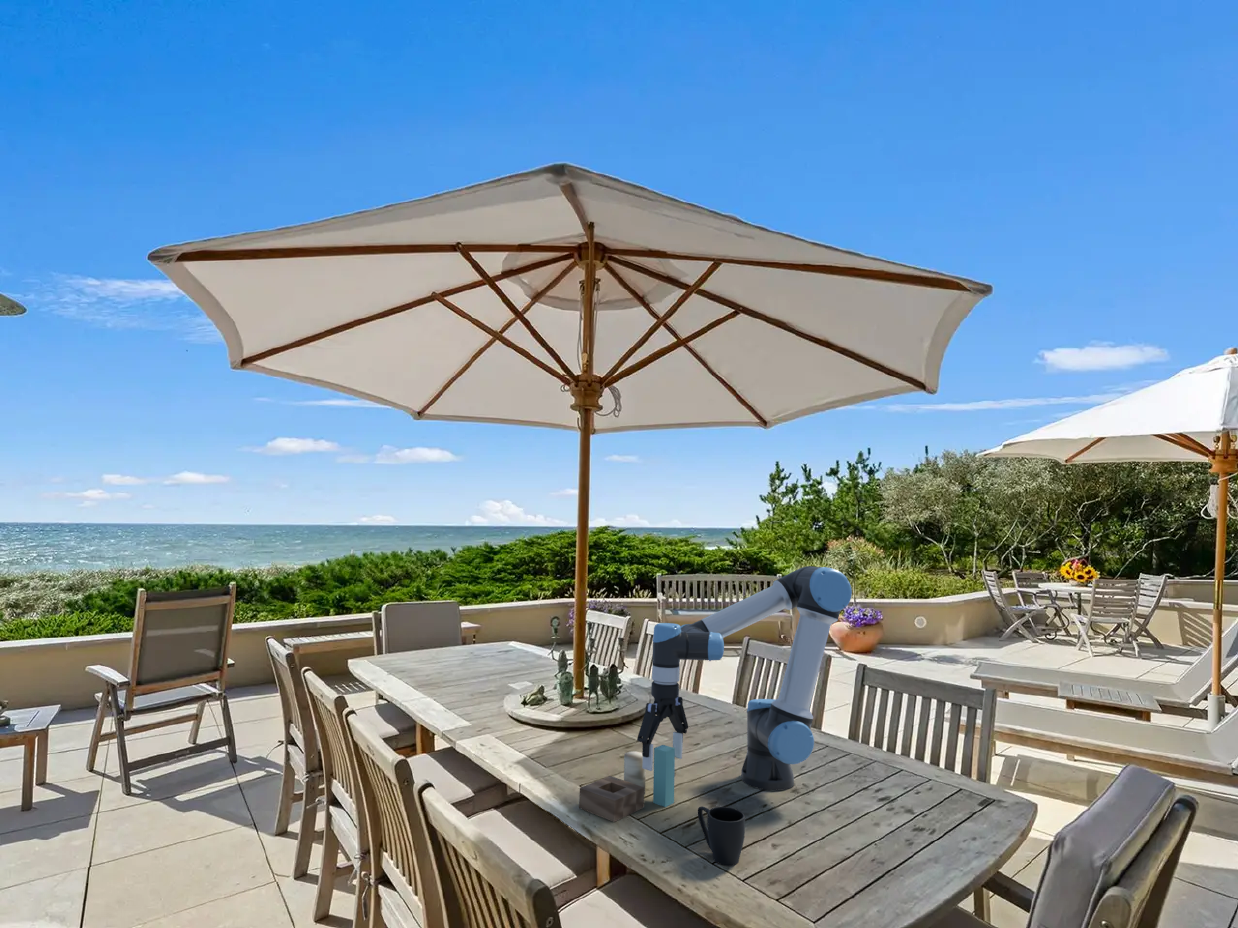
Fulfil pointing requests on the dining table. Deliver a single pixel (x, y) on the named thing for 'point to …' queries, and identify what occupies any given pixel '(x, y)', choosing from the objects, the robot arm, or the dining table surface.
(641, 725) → the robot arm
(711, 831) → the mug
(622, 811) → the socket block
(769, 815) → the dining table surface
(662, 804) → the square bit
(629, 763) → the round dowel
